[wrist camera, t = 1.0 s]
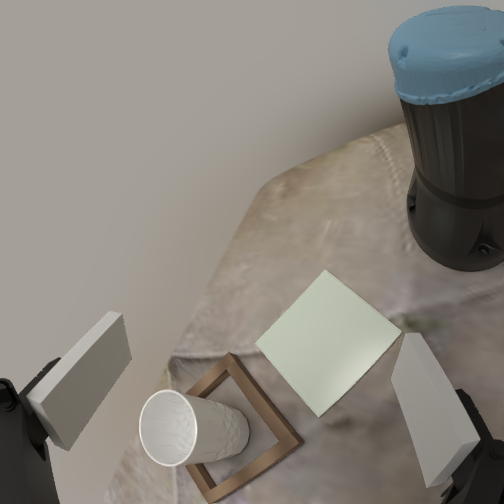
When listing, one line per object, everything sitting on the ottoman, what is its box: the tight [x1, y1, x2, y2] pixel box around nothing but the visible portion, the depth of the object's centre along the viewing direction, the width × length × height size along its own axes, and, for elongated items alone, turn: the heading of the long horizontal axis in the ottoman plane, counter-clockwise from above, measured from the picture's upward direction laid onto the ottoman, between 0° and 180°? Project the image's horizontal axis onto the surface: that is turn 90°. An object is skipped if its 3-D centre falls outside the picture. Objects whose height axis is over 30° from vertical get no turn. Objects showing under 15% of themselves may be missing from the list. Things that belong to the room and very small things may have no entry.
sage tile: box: [255, 270, 402, 417], centre depth 31 cm, size 12×12×1 cm
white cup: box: [139, 390, 250, 467], centre depth 27 cm, size 8×8×10 cm
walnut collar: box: [185, 352, 304, 504], centre depth 30 cm, size 14×14×2 cm
